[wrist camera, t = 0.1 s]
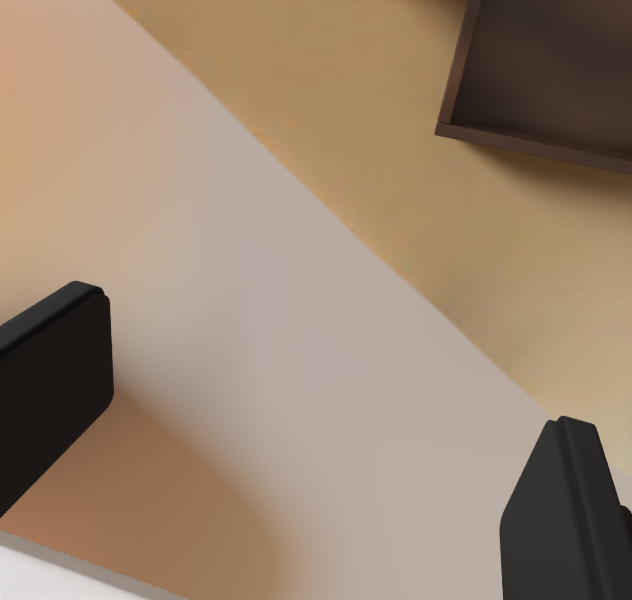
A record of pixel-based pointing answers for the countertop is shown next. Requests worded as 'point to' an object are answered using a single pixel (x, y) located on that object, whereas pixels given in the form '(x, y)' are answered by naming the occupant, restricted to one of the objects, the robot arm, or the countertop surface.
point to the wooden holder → (544, 80)
